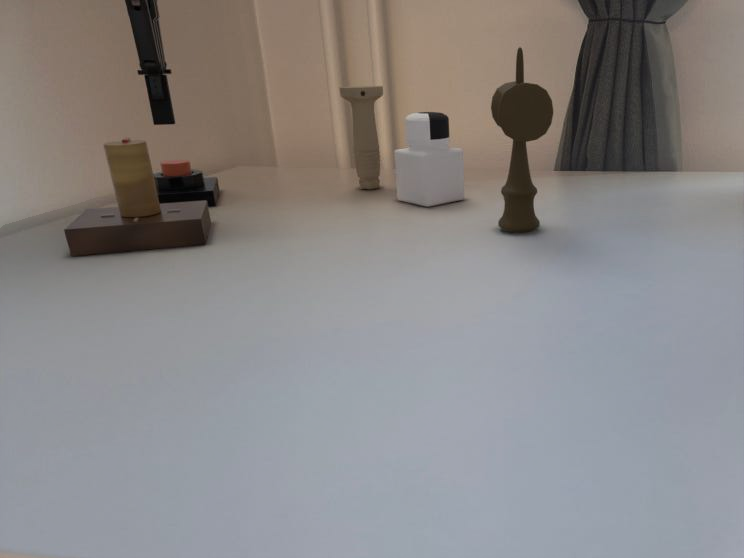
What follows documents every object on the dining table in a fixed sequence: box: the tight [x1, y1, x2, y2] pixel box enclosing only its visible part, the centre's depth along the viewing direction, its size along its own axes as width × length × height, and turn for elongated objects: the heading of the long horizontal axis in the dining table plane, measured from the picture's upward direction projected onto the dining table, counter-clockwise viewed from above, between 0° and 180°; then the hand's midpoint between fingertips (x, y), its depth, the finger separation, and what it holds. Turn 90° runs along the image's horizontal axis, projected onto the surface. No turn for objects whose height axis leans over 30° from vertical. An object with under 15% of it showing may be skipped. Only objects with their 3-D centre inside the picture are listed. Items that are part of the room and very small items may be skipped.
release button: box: [159, 159, 192, 176], centre depth 100 cm, size 4×4×2 cm
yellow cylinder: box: [103, 137, 161, 217], centre depth 78 cm, size 4×4×8 cm
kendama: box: [490, 46, 554, 233], centre depth 77 cm, size 6×10×20 cm, turn 6°
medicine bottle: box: [393, 111, 465, 208], centre depth 96 cm, size 7×7×12 cm
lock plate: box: [63, 200, 212, 257], centre depth 80 cm, size 14×11×3 cm
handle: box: [339, 85, 384, 191], centre depth 105 cm, size 5×6×15 cm
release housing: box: [153, 169, 221, 207], centre depth 101 cm, size 10×12×4 cm
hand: (164, 123), depth 97 cm, fingers closed
